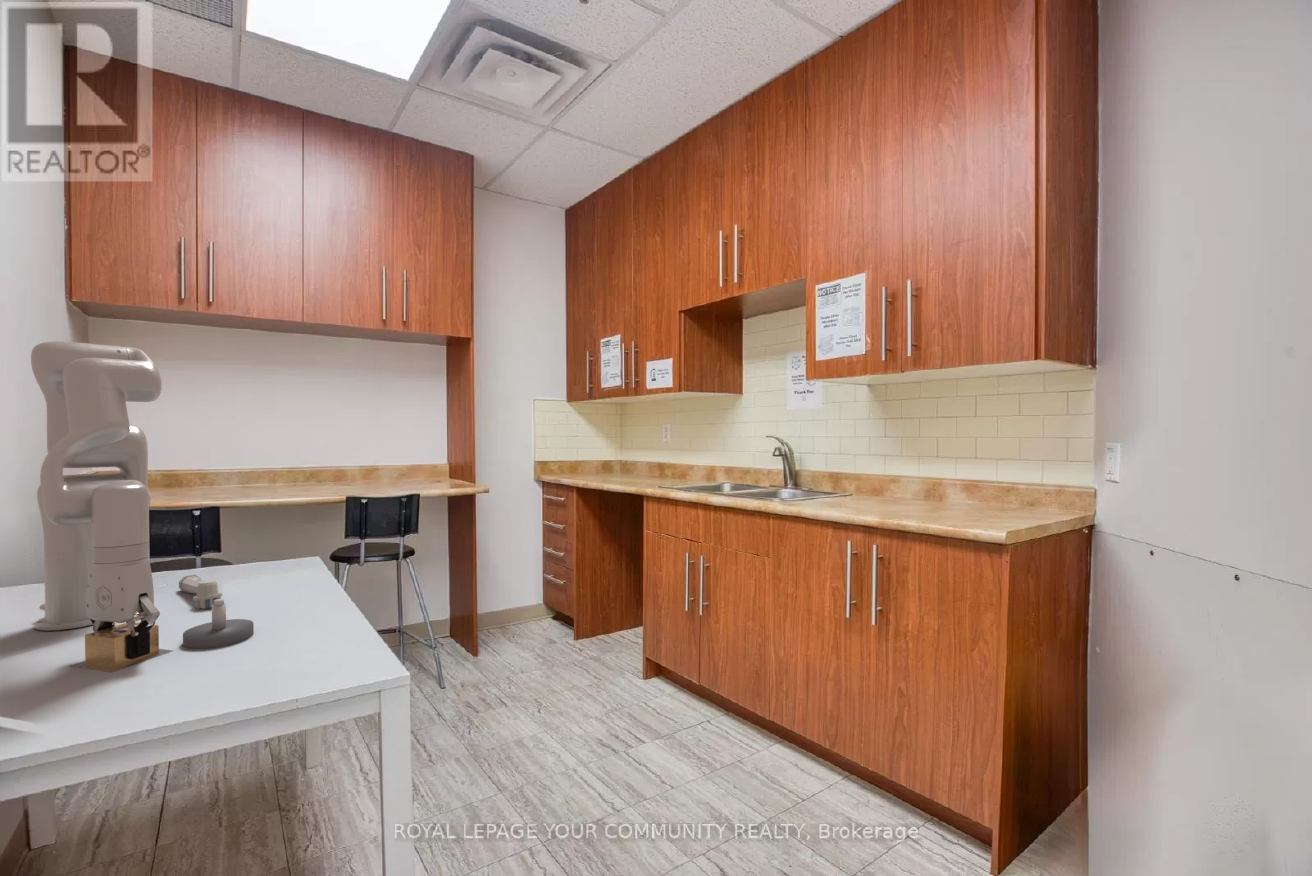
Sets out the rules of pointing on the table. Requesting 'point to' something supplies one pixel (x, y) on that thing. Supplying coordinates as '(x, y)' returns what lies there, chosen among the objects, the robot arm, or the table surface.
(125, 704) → the table surface
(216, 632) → the hub
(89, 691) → the table surface
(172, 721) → the table surface
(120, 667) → the stand
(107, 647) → the collar
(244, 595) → the table surface
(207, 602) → the toothbrush head
